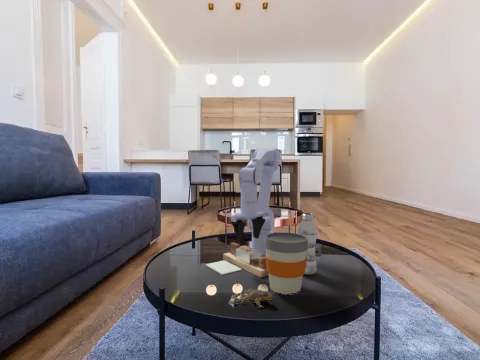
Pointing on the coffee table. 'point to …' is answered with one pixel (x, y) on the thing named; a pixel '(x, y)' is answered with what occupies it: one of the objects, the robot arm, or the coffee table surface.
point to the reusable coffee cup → (285, 261)
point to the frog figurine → (251, 297)
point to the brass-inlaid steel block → (247, 254)
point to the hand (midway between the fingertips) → (248, 239)
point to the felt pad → (223, 267)
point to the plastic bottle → (309, 241)
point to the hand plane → (254, 268)
